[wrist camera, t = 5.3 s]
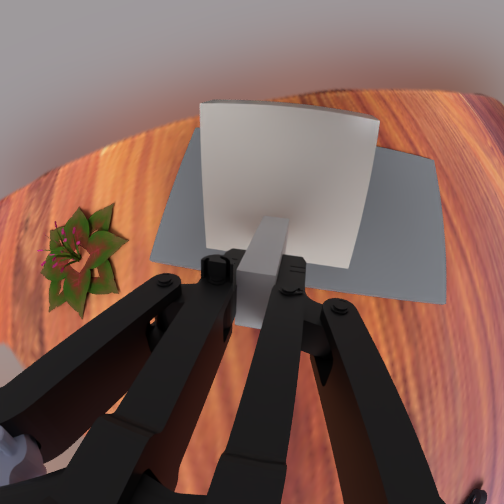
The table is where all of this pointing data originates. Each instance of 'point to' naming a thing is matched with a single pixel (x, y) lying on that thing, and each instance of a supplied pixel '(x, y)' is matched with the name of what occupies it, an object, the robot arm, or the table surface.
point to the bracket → (477, 497)
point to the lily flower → (99, 250)
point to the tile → (286, 175)
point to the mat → (368, 238)
